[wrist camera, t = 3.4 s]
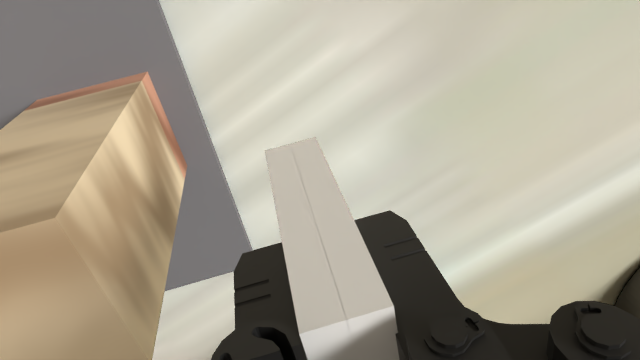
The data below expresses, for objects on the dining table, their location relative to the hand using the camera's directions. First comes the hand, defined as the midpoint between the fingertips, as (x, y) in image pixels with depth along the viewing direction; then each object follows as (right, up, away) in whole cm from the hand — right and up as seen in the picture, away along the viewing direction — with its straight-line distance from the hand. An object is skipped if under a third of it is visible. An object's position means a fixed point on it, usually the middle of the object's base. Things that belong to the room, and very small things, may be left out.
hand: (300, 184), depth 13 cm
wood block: (-9, +2, +8) cm, 12 cm away
